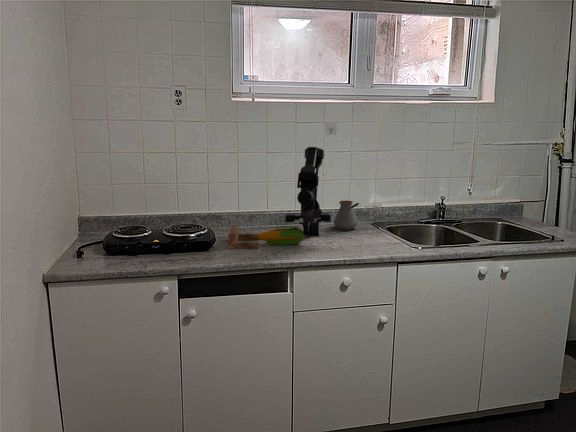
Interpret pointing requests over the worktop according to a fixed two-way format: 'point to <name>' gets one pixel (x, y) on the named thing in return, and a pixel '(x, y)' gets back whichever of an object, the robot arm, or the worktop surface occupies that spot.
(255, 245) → the guide bay
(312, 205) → the robot arm
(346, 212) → the coffee pot
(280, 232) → the corn
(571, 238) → the worktop surface
